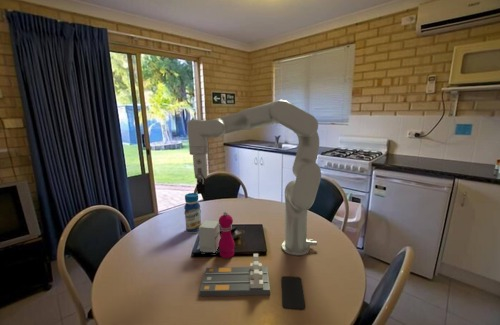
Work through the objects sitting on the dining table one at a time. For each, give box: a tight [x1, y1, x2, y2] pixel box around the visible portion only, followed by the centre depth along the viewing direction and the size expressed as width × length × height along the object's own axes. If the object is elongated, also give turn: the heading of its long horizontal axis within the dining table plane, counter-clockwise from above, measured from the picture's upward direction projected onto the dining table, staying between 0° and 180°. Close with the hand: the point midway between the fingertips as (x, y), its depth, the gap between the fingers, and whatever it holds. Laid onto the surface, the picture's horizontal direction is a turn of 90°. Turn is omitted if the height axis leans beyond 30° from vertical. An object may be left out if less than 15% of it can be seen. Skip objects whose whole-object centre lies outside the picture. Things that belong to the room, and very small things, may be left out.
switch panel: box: [199, 266, 271, 297], centre depth 88 cm, size 24×13×2 cm, turn 90°
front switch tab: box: [250, 270, 263, 288], centre depth 82 cm, size 4×2×6 cm, turn 90°
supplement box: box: [198, 220, 221, 253], centre depth 109 cm, size 7×7×13 cm
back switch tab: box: [249, 253, 263, 270], centre depth 92 cm, size 4×2×6 cm, turn 90°
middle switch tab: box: [250, 260, 263, 279], centre depth 87 cm, size 4×2×6 cm, turn 90°
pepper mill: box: [218, 211, 236, 259], centre depth 104 cm, size 7×7×20 cm
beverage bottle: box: [183, 192, 202, 234], centre depth 127 cm, size 8×8×20 cm
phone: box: [281, 275, 306, 311], centre depth 83 cm, size 7×1×15 cm
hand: (201, 189), depth 102 cm, fingers open, 9 cm apart
